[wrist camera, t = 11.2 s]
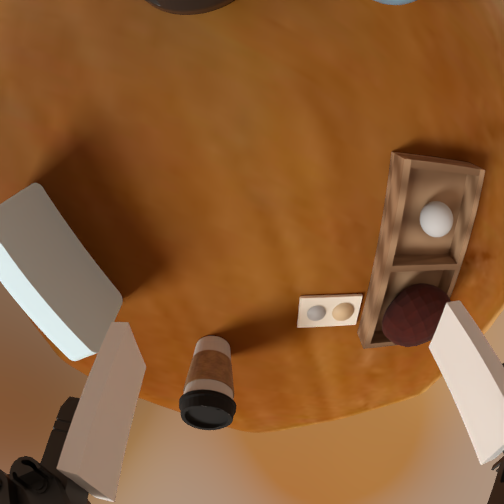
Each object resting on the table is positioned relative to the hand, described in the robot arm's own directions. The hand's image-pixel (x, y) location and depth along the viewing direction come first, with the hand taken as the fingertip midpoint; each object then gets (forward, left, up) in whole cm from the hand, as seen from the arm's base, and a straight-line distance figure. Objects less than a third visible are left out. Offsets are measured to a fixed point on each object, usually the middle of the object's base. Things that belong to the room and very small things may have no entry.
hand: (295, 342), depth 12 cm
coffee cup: (+31, -8, -31) cm, 45 cm away
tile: (+23, +11, -30) cm, 40 cm away
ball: (+6, +24, -29) cm, 38 cm away
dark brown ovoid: (+21, +24, -30) cm, 43 cm away
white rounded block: (+12, -29, -31) cm, 44 cm away
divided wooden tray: (+13, +24, -30) cm, 41 cm away
